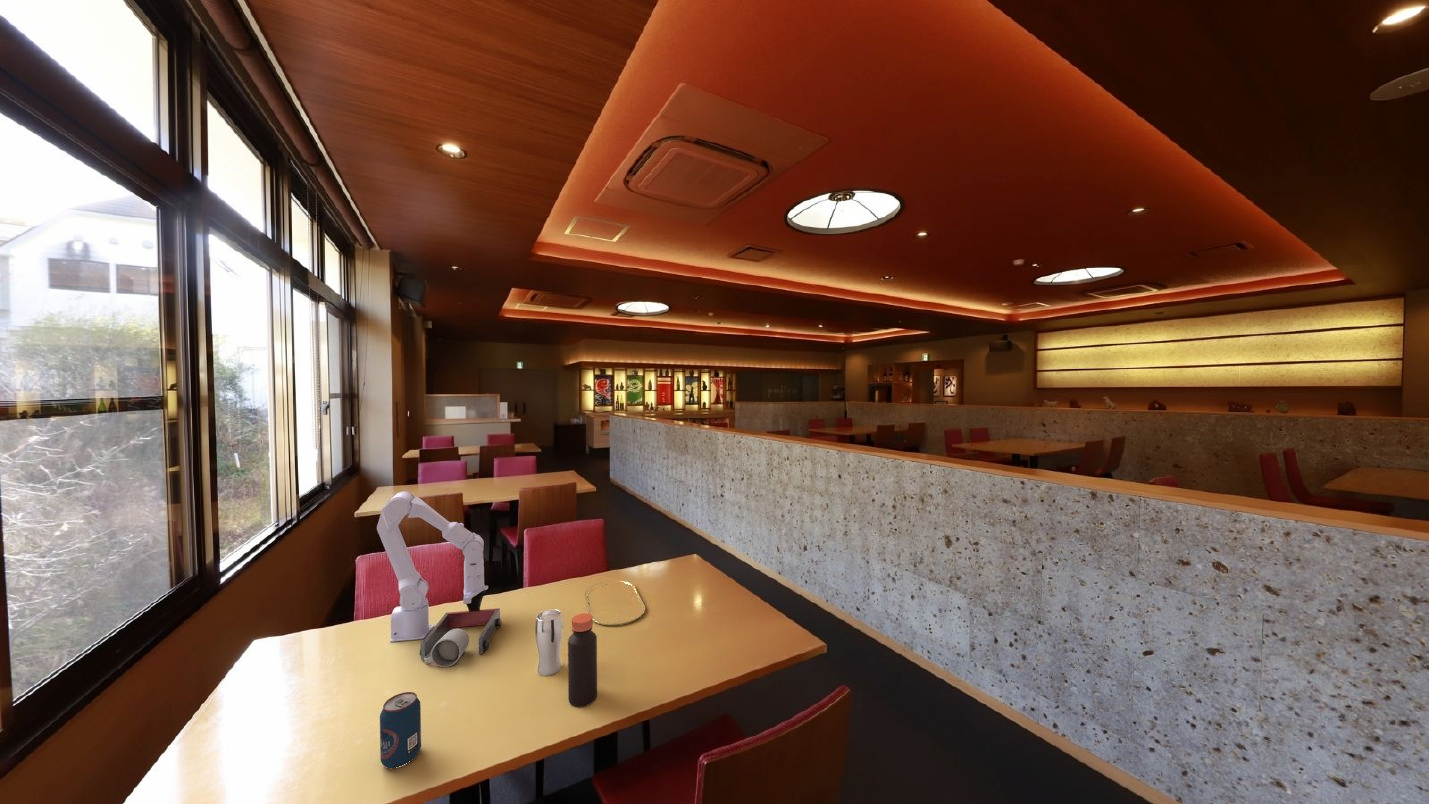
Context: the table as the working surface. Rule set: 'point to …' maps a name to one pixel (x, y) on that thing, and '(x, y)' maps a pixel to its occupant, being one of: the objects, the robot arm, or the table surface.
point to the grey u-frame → (461, 620)
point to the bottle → (582, 662)
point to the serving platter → (616, 581)
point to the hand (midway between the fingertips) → (474, 615)
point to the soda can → (400, 729)
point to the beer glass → (549, 641)
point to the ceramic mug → (448, 648)
